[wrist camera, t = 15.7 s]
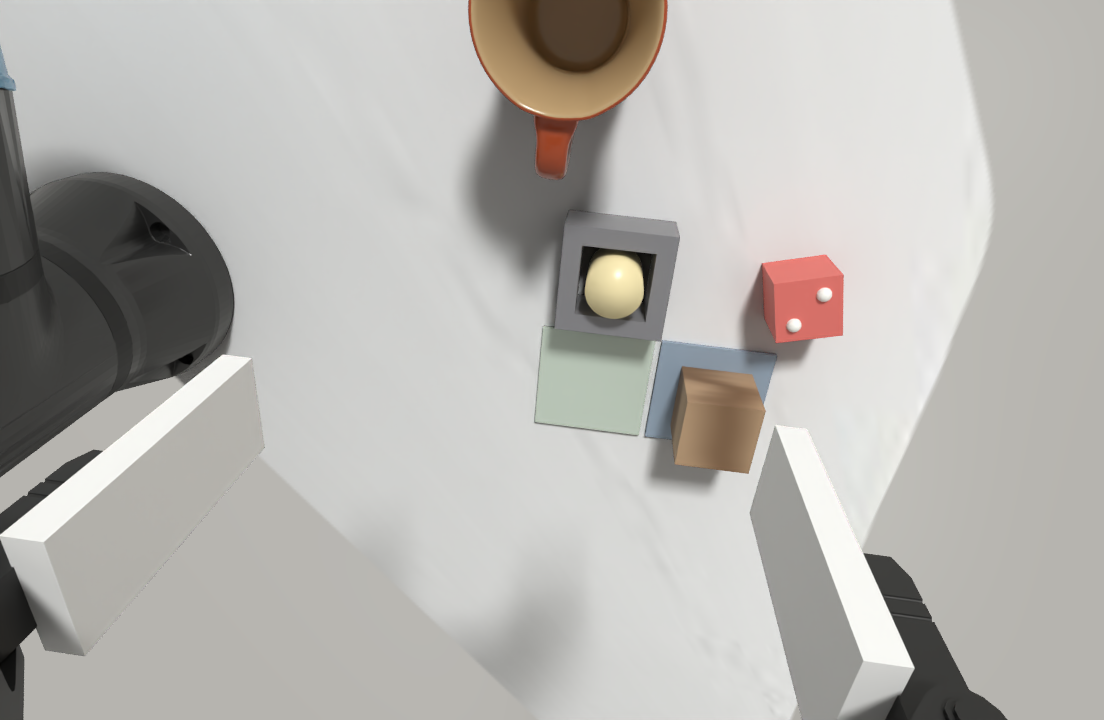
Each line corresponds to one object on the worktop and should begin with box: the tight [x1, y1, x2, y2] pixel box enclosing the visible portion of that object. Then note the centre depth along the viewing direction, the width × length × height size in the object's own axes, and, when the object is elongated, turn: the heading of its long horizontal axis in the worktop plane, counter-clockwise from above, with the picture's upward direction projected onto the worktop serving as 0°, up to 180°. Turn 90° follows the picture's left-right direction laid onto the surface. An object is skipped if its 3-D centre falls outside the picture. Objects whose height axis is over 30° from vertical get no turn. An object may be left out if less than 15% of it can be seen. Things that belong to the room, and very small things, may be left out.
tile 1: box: [535, 326, 655, 435], centre depth 48 cm, size 8×8×1 cm
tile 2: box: [645, 340, 777, 440], centre depth 48 cm, size 8×8×1 cm
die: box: [762, 255, 844, 343], centre depth 42 cm, size 4×4×4 cm
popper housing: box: [554, 210, 680, 342], centre depth 42 cm, size 7×7×4 cm
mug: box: [468, 0, 668, 180], centre depth 34 cm, size 12×9×10 cm
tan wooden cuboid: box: [670, 366, 766, 474], centre depth 45 cm, size 5×5×5 cm
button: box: [585, 248, 644, 319], centre depth 42 cm, size 4×4×4 cm
